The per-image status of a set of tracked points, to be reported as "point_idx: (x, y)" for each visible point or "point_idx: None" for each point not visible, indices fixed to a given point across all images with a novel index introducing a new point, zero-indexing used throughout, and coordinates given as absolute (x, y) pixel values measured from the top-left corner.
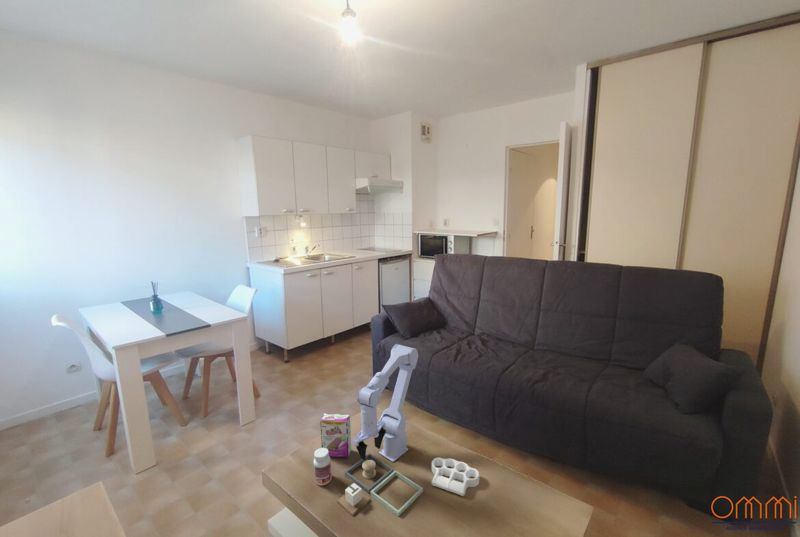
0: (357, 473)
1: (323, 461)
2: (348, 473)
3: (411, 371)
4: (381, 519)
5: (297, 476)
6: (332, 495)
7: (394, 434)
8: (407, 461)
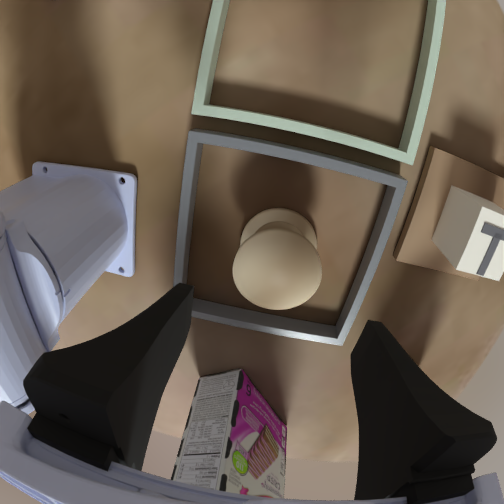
0: None
1: None
2: (345, 327)
3: None
4: (485, 53)
5: None
6: (448, 309)
7: (5, 253)
8: (90, 113)
